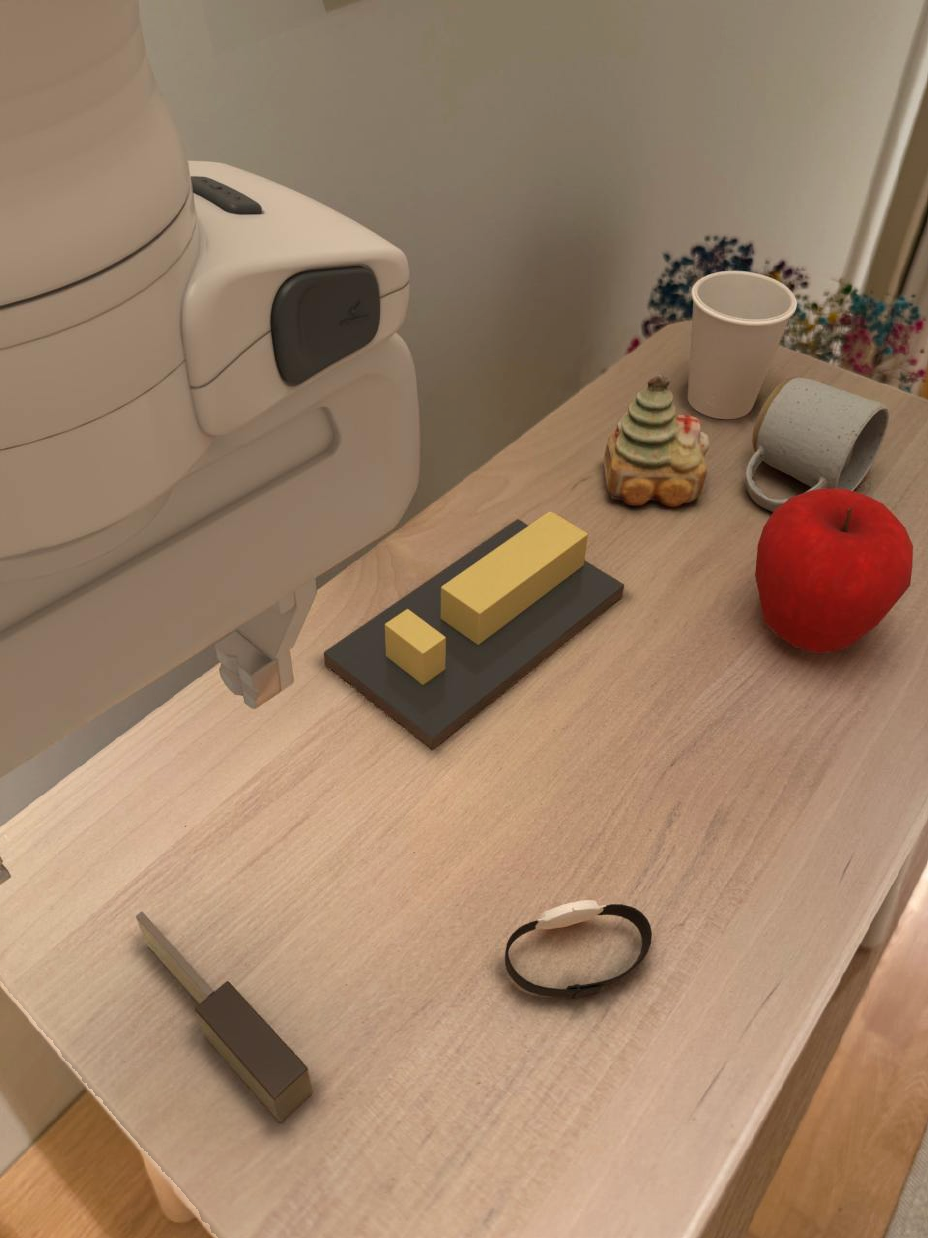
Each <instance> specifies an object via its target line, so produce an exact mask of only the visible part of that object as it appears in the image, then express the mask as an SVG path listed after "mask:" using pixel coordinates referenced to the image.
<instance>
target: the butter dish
mask: <svg viewBox="0 0 928 1238" xmlns="http://www.w3.org/2000/svg"><path fill="white" fill-rule="evenodd" d="M528 526H529V524H527V523H525V522H523V521H522V520H521V519H519V518H517V519H515V520H513V521H512V522H511V523H509V524H508V525H506V526H505V527H503V528H502V529H501V530H499V531H498V532H497V533H495V534H493V535H491V537H489V538H487V539H486V540H484V541H483V542H482V543H480V544H479V545H476V547H475V548H473V549H471V550H469V551H468V552H467V553H465V554H464V555H463V556H461V557H460V558H459V559H457V560H455V561H454V562H452V563H451V564H450V565H449V566H447V567H445V568H444V569H443V570H441V571H439V572H438V573H437V574H435V575H434V576H432V577H431V578H429V579H427V580H426V581H425V582H423V583H422V584H421V585H419V586H418V587H416V588H415V589H413V590H412V591H410V592H409V593H407V594H406V595H404V596H403V597H402V598H401V599H399V600H398V601H396V602H394V603H393V604H391V605H390V606H389V607H387V608H386V609H384V610H383V611H382V612H380V613H379V614H377V615H376V616H374V617H372V618H371V619H370V620H368V621H366V623H364V624H363V625H361V626H360V627H358V628H357V629H355V630H353V631H352V632H350V633H349V634H347V635H346V636H345V637H344V638H342V639H341V640H339V641H338V642H337V643H334V645H332V646H330V647H328V648H327V649H326V650H325V651H323V659H324V660H323V661H324V665H325V666H326V667H328V668H329V669H330V670H331V671H332V672H334V673H335V674H337V676H339V677H340V678H342V679H343V680H344V681H345V682H346V683H347V684H349V685H350V686H351V687H353V688H354V689H355V690H357V691H358V692H359V693H360V694H362V695H363V696H364V697H365V698H366V699H368V700H369V701H370V702H372V703H373V704H374V705H376V707H378V708H379V709H381V710H382V711H383V712H385V714H387V715H388V716H389V717H391V718H392V719H393V720H394V721H395V722H397V723H398V724H399V725H401V726H402V728H404V729H405V730H407V731H408V732H409V733H411V734H412V735H413V736H415V737H416V738H417V739H418V740H420V741H421V742H422V743H423V744H424V745H426V747H428V748H429V749H431V750H434V749H435V748H437V747H438V746H440V744H442V743H443V742H444V741H445V740H446V739H448V738H449V737H451V736H452V735H453V734H454V733H456V732H457V731H458V730H460V729H461V727H463V726H464V725H465V724H466V723H468V722H469V721H470V720H471V719H473V718H474V717H475V716H476V715H478V714H479V713H480V712H482V710H484V709H485V708H487V706H489V705H490V704H491V703H492V702H494V701H495V700H496V699H498V698H499V697H500V696H501V695H502V694H503V693H505V692H506V691H508V690H509V689H510V688H511V687H512V686H513V685H515V684H516V683H517V682H518V681H520V680H521V679H522V678H524V677H525V676H526V675H528V673H530V672H531V671H532V670H534V668H536V667H537V666H539V664H541V663H542V662H543V661H544V660H546V659H547V658H548V657H549V656H551V655H552V654H553V653H555V652H556V651H557V650H558V649H560V647H562V646H563V645H564V644H565V643H567V642H568V641H569V640H571V639H572V638H573V637H574V636H575V635H577V634H578V633H580V631H582V630H583V629H584V628H585V627H586V626H588V625H589V624H590V623H592V622H593V621H594V620H595V619H596V618H598V617H599V616H601V615H602V614H603V613H604V612H605V611H607V610H608V609H609V608H610V607H612V606H613V605H614V604H615V603H617V602H618V601H619V600H620V599H621V598H623V595H624V591H625V590H624V589H625V583H622V582H621V581H619V580H618V579H616V578H614V577H613V576H611V575H610V574H608V573H606V572H604V570H601V569H600V568H598V567H596V566H595V565H594V564H592V563H590V562H588V561H587V560H586V559H585V560H584V565H583V566H582V567H581V568H579V569H578V570H577V571H575V572H574V573H573V574H572V575H570V576H569V577H568V578H566V579H565V580H564V581H562V582H561V583H560V584H558V585H557V586H556V587H554V588H553V589H552V590H550V591H549V592H548V593H546V594H545V595H544V596H542V597H541V598H540V599H539V600H537V601H536V602H535V603H533V604H532V605H531V606H529V607H528V608H527V609H525V610H524V611H523V612H521V613H520V614H519V615H517V616H516V617H515V618H513V619H512V620H511V621H510V622H508V623H507V624H506V625H504V626H503V627H502V628H500V629H499V630H498V631H496V632H495V633H494V634H492V635H491V636H490V637H488V638H487V639H486V640H484V641H483V642H482V643H481V644H479V645H477V644H476V643H474V642H473V641H471V640H470V639H469V638H467V637H466V636H464V635H463V634H461V633H460V632H459V631H457V630H456V629H454V628H453V627H452V626H450V625H449V624H447V623H446V622H445V621H443V620H442V619H441V587H442V586H443V585H444V584H446V583H447V582H449V581H450V580H452V579H453V578H454V577H456V576H457V575H459V574H460V573H462V572H463V571H464V570H466V569H467V568H469V567H470V566H472V565H473V564H475V563H476V562H477V561H479V560H480V559H482V558H483V557H485V556H486V555H487V554H489V553H490V552H492V551H493V550H495V549H496V548H497V547H499V546H500V545H502V544H503V543H505V542H506V541H507V540H509V539H510V538H512V537H513V536H515V535H516V534H518V533H519V532H520V531H522V530H523V529H525V528H526V527H528ZM407 609H409V610H410V611H411V612H413V613H414V614H415V615H417V616H418V617H419V618H421V619H422V620H423V621H425V622H426V623H427V624H429V625H430V626H431V627H433V628H434V629H435V630H437V631H438V632H439V633H441V634H442V635H443V636H445V637H446V655H445V670H443V671H442V672H441V673H439V674H438V675H437V676H435V677H434V678H432V679H431V680H430V681H428V682H427V683H425V684H424V685H422V684H421V683H419V682H418V681H417V680H416V679H414V678H413V677H412V676H411V675H409V674H408V673H407V672H406V671H404V670H403V669H402V668H400V667H399V666H398V665H397V664H395V663H394V662H393V661H392V660H390V659H389V658H388V657H387V656H386V643H385V624H386V623H387V622H389V621H390V620H392V619H393V618H395V617H396V616H398V615H399V614H401V613H402V612H404V611H405V610H407Z"/></svg>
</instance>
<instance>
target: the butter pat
mask: <svg viewBox="0 0 928 1238" xmlns="http://www.w3.org/2000/svg"><path fill="white" fill-rule="evenodd" d="M385 643H386V656H387V657H388V658H389V659H390V660H392V661H393V662H394V663H395V664H397V665H398V666H399V667H400V668H402V669H403V670H404V671H406V672H407V673H408V674H409V675H411V676H412V677H413V678H414V679H416V680H417V681H418V682H419V683H421V684H422V685H424V684H425V683H427V682H428V681H430V680H431V679H432V678H434V677H435V676H437V675H438V674H439V673H441V672H442V671H443V670H445V655H446V637H445V636H443V635H442V634H441V633H439V632H438V631H437V630H435V629H434V628H433V627H431V626H430V625H429V624H427V623H426V622H425V621H423V620H422V619H421V618H419V617H418V616H417V615H415V614H414V613H413V612H411V611H410V610H409V609H407V610H405V611H404V612H402V613H401V614H399V615H398V616H396V617H395V618H393V619H392V620H390V621H389V622H387V623H386V624H385Z"/></svg>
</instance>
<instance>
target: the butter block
mask: <svg viewBox="0 0 928 1238" xmlns="http://www.w3.org/2000/svg"><path fill="white" fill-rule="evenodd" d="M588 538H589V533H588V532H586V531H585V530H583V529H581V528H580V527H578V526H576V525H575V524H573V523H571V522H569V521H568V520H566V519H564V518H563V517H561V516H560V515H558V514H557V513H555V512H553V511H551V510H549V511H547V512H546V513H545V514H543V515H542V516H540V517H539V518H537V519H536V520H535V521H533V522H531V523H530V524H528V527H526V528H525V529H523V530H522V531H520V532H519V533H518V534H516V535H515V536H513V537H512V538H510V539H509V540H507V541H506V542H505V543H503V544H502V545H500V546H499V547H497V548H496V549H495V550H493V551H492V552H490V553H489V554H487V555H486V556H485V557H483V558H482V559H480V560H479V561H477V562H476V563H475V564H473V565H472V566H470V567H469V568H467V569H466V570H464V571H463V572H462V573H460V574H459V575H457V576H456V577H454V578H453V579H452V580H450V581H449V582H447V583H446V584H444V585H443V586H442V587H441V619H442V620H443V621H445V622H446V623H447V624H449V625H450V626H452V627H453V628H454V629H456V630H457V631H459V632H460V633H461V634H463V635H464V636H466V637H467V638H469V639H470V640H471V641H473V642H474V643H476V644H477V645H479V644H481V643H482V642H483V641H484V640H486V639H487V638H488V637H490V636H491V635H492V634H494V633H495V632H496V631H498V630H499V629H500V628H502V627H503V626H504V625H506V624H507V623H508V622H510V621H511V620H512V619H513V618H515V617H516V616H517V615H519V614H520V613H521V612H523V611H524V610H525V609H527V608H528V607H529V606H531V605H532V604H533V603H535V602H536V601H537V600H539V599H540V598H541V597H542V596H544V595H545V594H546V593H548V592H549V591H550V590H552V589H553V588H554V587H556V586H557V585H558V584H560V583H561V582H562V581H564V580H565V579H566V578H568V577H569V576H570V575H572V574H573V573H574V572H575V571H577V570H578V569H579V568H581V567H582V566H583V565H584V560H585V561H586V554H587V553H586V552H587V545H588Z"/></svg>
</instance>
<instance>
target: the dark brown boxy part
mask: <svg viewBox="0 0 928 1238" xmlns="http://www.w3.org/2000/svg"><path fill="white" fill-rule="evenodd" d="M135 918H136V921H137V924H138V926H139V928H140V931H141V933H142V936H143V938H144V941H145V943H146V946H147V947H148V948H149V949H150V950H151V951H152V952H153V953H154V955H155V956H156V957H157V958H158V959H159V960H160V962H161V963H162V965H164V966H165V967H166V968H167V969H168V971H169V972H170V973H171V974H172V975H173V976H174V977H175V978H176V980H177V981H178V982H179V983H180V984H181V985H182V986H183V988H184V989H185V990H186V991H187V992H188V993H189V994H190V995H191V997H192V998H193V999H194V1000H195V1001H196V1003H198V1005H196V1006H195V1007H194V1013H195V1015H196V1017H197V1020H198V1023H199V1026H200V1029H201V1031H202V1035H203V1036H204V1038H205V1039H206V1040H207V1041H208V1042H209V1044H211V1045H212V1047H213V1048H214V1049H215V1051H217V1052H218V1054H219V1055H220V1056H221V1057H222V1058H223V1059H224V1060H225V1062H226V1063H227V1064H228V1065H229V1066H230V1068H231V1069H232V1070H233V1071H234V1072H235V1073H236V1075H238V1077H239V1078H240V1079H241V1080H242V1081H243V1082H244V1084H245V1085H246V1086H247V1087H248V1089H250V1090H251V1091H252V1093H253V1094H254V1095H255V1097H256V1098H257V1099H258V1100H259V1101H260V1102H261V1103H262V1105H264V1107H265V1108H266V1109H267V1110H268V1111H269V1112H270V1113H271V1115H272V1116H273V1117H274V1118H275V1119H276V1121H277V1122H278V1123H283V1122H284V1121H285V1120H286V1119H287V1118H288V1117H289V1116H290V1115H291V1114H292V1113H293V1112H295V1110H297V1109H298V1107H300V1106H301V1104H303V1102H305V1101H306V1100H307V1099H308V1098H309V1097H310V1096H311V1095H312V1094H313V1087H312V1082H311V1077H310V1071H309V1067H308V1066H307V1065H306V1064H305V1062H304V1061H302V1059H300V1057H299V1056H298V1055H297V1054H296V1053H295V1052H294V1051H293V1050H292V1048H290V1046H289V1045H288V1044H287V1043H286V1042H285V1041H284V1040H283V1039H282V1038H281V1036H280V1035H279V1034H278V1033H277V1032H276V1031H275V1030H274V1029H273V1028H272V1027H271V1026H270V1025H269V1023H268V1022H267V1021H266V1020H265V1019H264V1018H263V1017H262V1015H260V1014H259V1012H258V1011H256V1009H255V1008H254V1007H253V1006H252V1005H251V1004H250V1002H248V1000H247V999H246V998H245V997H244V996H243V995H242V994H241V993H240V992H239V991H238V990H237V988H235V987H234V985H233V984H232V983H231V982H230V981H229V980H227V981H225V982H224V983H223V984H221V985H220V986H219V987H218V988H217V989H216V990H214V989H213V988H212V987H211V986H210V985H209V984H208V983H207V981H205V979H204V978H203V977H202V976H201V975H200V973H198V972H197V970H196V969H195V968H194V967H193V966H192V965H191V964H190V963H189V961H187V959H186V958H185V957H184V956H183V955H182V953H180V951H179V950H178V949H177V948H176V947H175V946H174V944H172V943H171V941H170V940H169V939H168V938H167V937H166V936H165V935H164V934H163V933H162V931H161V930H160V929H159V928H158V927H157V926H156V925H155V923H153V922H152V921H151V919H150V918H149V917H148V916H147V915H146V914H145V913H144V912H143V911H140V912H138V914H136V916H135Z"/></svg>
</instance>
